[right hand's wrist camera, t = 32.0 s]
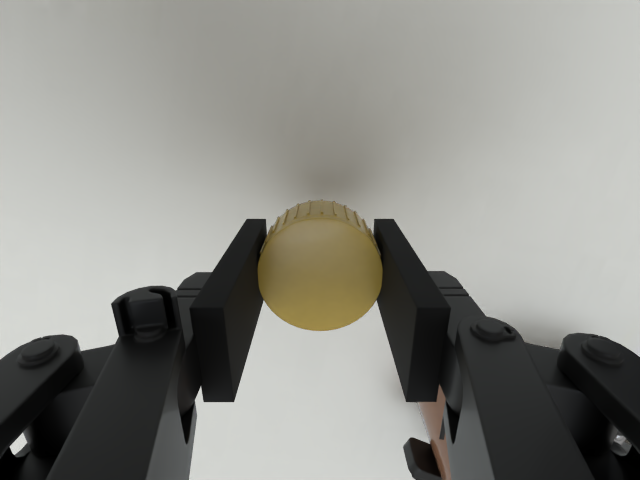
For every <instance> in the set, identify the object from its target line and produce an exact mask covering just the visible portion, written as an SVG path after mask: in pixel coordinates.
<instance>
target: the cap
mask: <svg viewBox="0 0 640 480" xmlns="http://www.w3.org/2000/svg"><path fill="white" fill-rule="evenodd" d="M259 254H261V255H260V258H259V262H258V268H257V269H258V284H259V290H260V293H261V295H262V297H263V299H264V301H265V302H266V304H267V305H268V307H269V308H270V309H271V310H272V311H273V312H274V313H275V314H276V315H277V316H278V317H280V318H281V319H282V320H284V321H285V322H287V323H289V324H291V325H293V326H296V327H299V328H302V329H307V330H313V331H327V330H334V329H338V328H341V327H344V326H347V325H349V324H351V323H353V322H355V321H356V320H358V319H359V318H361V317H362V316H363V315H364V314H365V313H366V312H368V310H369V309H370V308H371V307H372V306H373V304H374V303H375V301H376V299H377V297H378V295H379V293H380V290H381V287H382V273H383V266H382V261H381V254H380V251H379V249H378V246H377V243H376V241H375V238H374V236H373V233H372V231H371V229H370V228H368V227H367V225H366V222H365V220H364V219H363V220H362V219H361V217H360V216H359V215H357V212H356V211H352V210H351V209H349V208H347V206H346V205H344V206H343V205H341V204H338V203H335V201H333V202H330V201H323V200H321V201H311V200H310V201H308V202H305V203H302V204H297V205H296V206H295V207H293V208H291V209H289V210H288V209H287V210H286V212H285V213H284V214H283V215H282V216H280V217H278V218H277V220H276V222H275V224H274V225H273V226H271V227H270V230H269V232H268V235H267V236H266V239H265V241H264V243H263V246H262V248H261V251H260V253H259Z"/></svg>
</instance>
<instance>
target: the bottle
mask: <svg viewBox="0 0 640 480" xmlns="http://www.w3.org/2000/svg"><path fill="white" fill-rule="evenodd" d="M445 400H446V398H445V396H444V393H443V391H442V389H441V386H440V384H439V389H438V396H437V402H417V404H418V408H419V411H420V414H421V417H422V420H423V423H424V426H425V429H426V432H427V435H428V438H429V441H430V444H431V448H432V451H433V454H434V457H435V460H436V463H437V466H438V469H439V472H440V475H441V478H442V480H451V473H450V465H449V457H448V449H447V442H446V434H445V437H444V440H442V439H439V437H440V430H441V424H442V418H443V412H444V406H445Z"/></svg>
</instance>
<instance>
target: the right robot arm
mask: <svg viewBox="0 0 640 480" xmlns="http://www.w3.org/2000/svg"><path fill="white" fill-rule="evenodd" d="M266 236H267V230H266V219H247V220H246V221H245V223H244V224H243V226H242V227H241V229H240V230H239V232H238V233H237V235H236V236H235V238H234V240H233V241H232V243H231V244H230V246H229V247H228V249H227V250H226V252H225V253H224V255H223V257H222V258H221V260H220V261H219V263H218V264H217V266H216V267H215V269H214V270H213V272H196V273H195V274H193V275H191V276H190V277H188V278H186V279H185V280H184V281H183V282H182V283H181V284H180V286H179V287H178V288H177V290H176V291H175V290H174V289H172V288H170V287H166V286H148V287H143V288H138V289H135V290H132V291H129V292H127V293H125V294H123V295H121V296H119V297H118V298H117V299H115V300H114V301H113V302H112V303H111V305H112V309H113V313H114V317H115V322H116V326H117V330H118V334H119V338H118V340H117V341H116V343H115V344H114V345H110V346H105V347H100V348H95V349H90V350H85V351H80V347H79V344H78V340H77V339H75V338H74V337H73V336H69V335H52V336H45V337H43V338H37V339H34V340H32V341H31V342H29V343H26V344H24V345H22V346H20V347H18V348H16V349H15V350H13V351H12V352H10V353H9V354H7V355H6V356H5V357H3V358H2V359H1V360H0V480H189V474H190V466H191V458H192V450H193V443H194V435H195V427H196V419H197V412H196V406H195V398H196V396H197V394H198V391H199V389H200V386H201V388H202V394H203V400H204V402H234V400H235V397H236V393H237V390H238V386H239V383H240V380H241V376H242V373H243V369H244V366H245V362H246V359H247V355H248V352H249V349H250V345H251V342H252V338H253V335H254V331H255V328H256V324H257V321H258V318H259V314H260V311H261V307H262V304H263V300H264V299H263V297H262V295H261V293H260V290H259V284H258V269H257V268H258V262H259V258H260V255H261V254H259V253H260V251H261V248H262V246H263V243H264V241H265V239H266ZM373 236H374V238H375V241H376V243H377V246H378V249H379V251H380V254H381V261H382V266H383V273H382V287H381V290H380V293H379V295H378V297H377V299H376V300H377V303H378V306H379V310H380V313H381V317H382V320H383V324H384V327H385V331H386V334H387V337H388V341H389V344H390V348H391V351H392V355H393V358H394V362H395V365H396V368H397V372H398V375H399V379H400V382H401V386H402V389H403V392H404V396H405V399H406V402H437V396H438V389H439V384H440V386H441V389H442V391H443V393H444V396H445V398H446V400H445V406H444V412H443V418H442V424H441V430H440V437H439V439H442V440H444V437H445V434H446V442H447V449H448V457H449V465H450V473H451V480H640V357H639V356H637V355H636V354H635V353H633V352H632V351H630V350H629V349H627V348H626V347H624V346H622V345H621V344H619V343H616V342H614V341H612V340H610V339H608V338H606V337H602V336H598V335H594V334H584V333H574V334H569V335H567V336H566V337H565V338H563V342H562V345H561V348H560V350H559V349H554V348H548V347H543V346H538V345H533V344H529V343H525V342H524V341H523V339H522V337H521V335H520V334H519V333H518V332H517V331H516V329H514V328H513V327H511V326H510V325H508V324H507V323H505V322H503V321H500V320H497V319H495V318H491V317H486V316H485V314H484V313H483V312H482V311H481V309H480V308H479V307H478V305H477V304H476V303H475V302H474V300H473V299H472V298H471V297H470V296H469V294H468V293H467V292H466V290H465V289H463V286H462V285H461V284H460V283H459V281H458V280H457V279H456V278H454V277H453V276H451V275H449V274H448V273H446V272H445V271H427V270H426V268H425V267H424V265H423V264H422V262H421V261H420V259H419V258H418V256H417V255H416V253H415V251H414V250H413V248H412V247H411V245H410V244H409V242H408V241H407V239H406V238H405V236H404V235H403V233H402V231H401V230H400V228H399V227H398V225H397V224H396V222H395V221H394V219H374V235H373ZM618 431H619V432H620V433H621V434H622V435H623V436H624V437H625V438H626V439H627V440H628V441H629V442H630V443H631V444H632V446H631V448H630V450H629V452H628V453H627V454H626V453H624V452H623V451H622V450H621V449H620V448H619V447H618V446H617V445H616V444H615V443H614V439H615V437H616V434H617V432H618ZM22 433H24V436H25V438H26V441H27V444H26V445H25V446H24V447H23V448H22V450H20V451H19V452H18V453H17V454H15V455H14V454H12V452H11V449H10V447H9V446H10V445H11V444H12V443H13V442H14V441H15V440H16V439H17V438H18V437H19V436H20V435H21V434H22Z"/></svg>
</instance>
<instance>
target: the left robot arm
mask: <svg viewBox="0 0 640 480" xmlns="http://www.w3.org/2000/svg"><path fill="white" fill-rule="evenodd" d="M625 440H626V438H625V437H624V436H623V435H622V434H621V433H620V432H619V431H618V432H617V434H616V437H615V439H614V443H615V444H616V445H617V446H618V447H619V448H620V449H621V450H622V451H623V452H624V453H626V454H627V453H628V452H629V450H630V448H631V446H632V445H631V444H629V443H626V442H624V441H625ZM403 448H404V453H405V457H406V461H407V465H408V469H409V471H410V472H411V474H412V477H413V478H414V479H415V480H442V478H441V475H440V472H439V469H438V466H437V463H436V460H435V457H434V454H433V451H432V448H431V444H428V443H426V442H423V441H420V440H418V439H415V438H410V439H409V440H408V441H407V442H406V443H405V445H404V446H403Z"/></svg>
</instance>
